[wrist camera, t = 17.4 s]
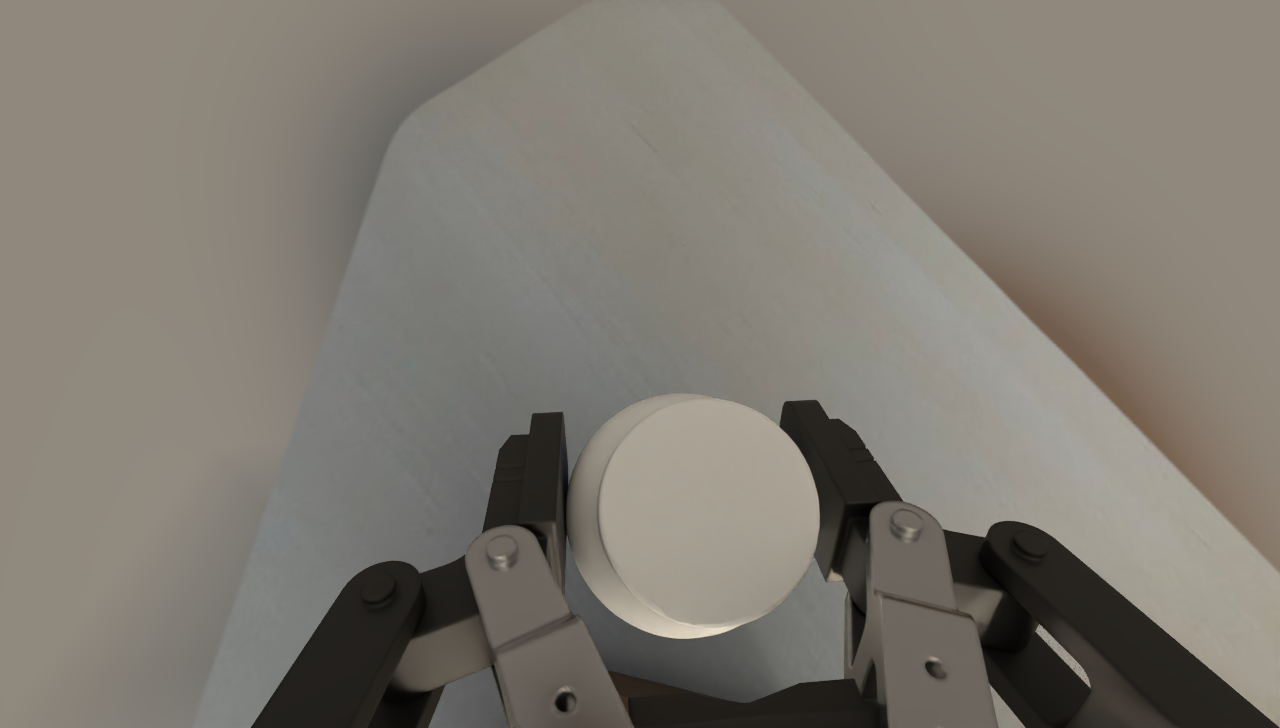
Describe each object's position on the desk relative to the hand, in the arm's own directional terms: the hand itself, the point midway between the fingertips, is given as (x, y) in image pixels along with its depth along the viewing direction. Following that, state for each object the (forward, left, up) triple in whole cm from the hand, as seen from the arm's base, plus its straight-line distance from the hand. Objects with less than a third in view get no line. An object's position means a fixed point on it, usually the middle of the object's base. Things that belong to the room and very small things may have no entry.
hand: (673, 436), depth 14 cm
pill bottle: (+1, -2, -6) cm, 7 cm away
